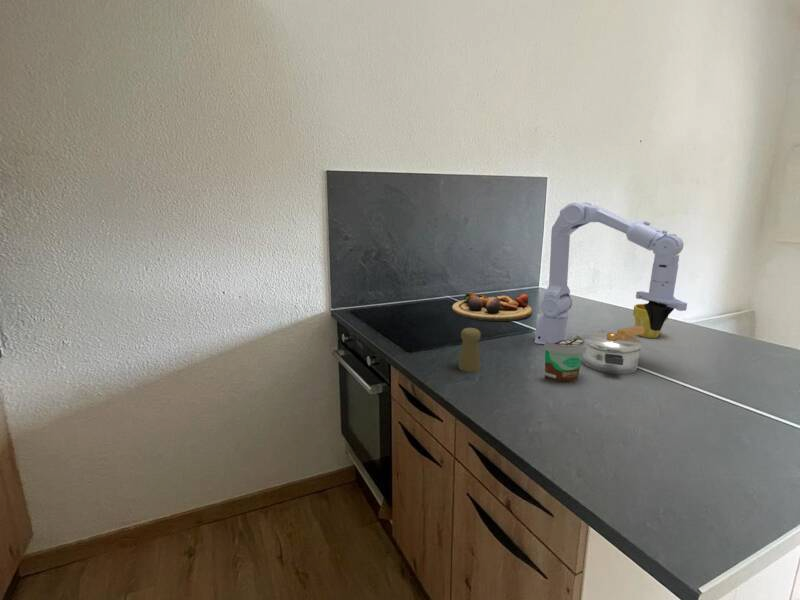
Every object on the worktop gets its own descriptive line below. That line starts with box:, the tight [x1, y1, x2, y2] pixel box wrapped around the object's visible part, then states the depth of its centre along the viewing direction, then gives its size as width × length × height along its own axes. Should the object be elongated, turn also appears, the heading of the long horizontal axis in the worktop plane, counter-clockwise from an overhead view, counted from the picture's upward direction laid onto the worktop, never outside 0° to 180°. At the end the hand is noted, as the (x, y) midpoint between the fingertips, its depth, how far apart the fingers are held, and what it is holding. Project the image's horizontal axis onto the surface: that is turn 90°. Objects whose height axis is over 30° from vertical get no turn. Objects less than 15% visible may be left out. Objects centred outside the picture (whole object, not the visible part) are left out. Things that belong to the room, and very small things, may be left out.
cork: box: [457, 327, 482, 373], centre depth 115 cm, size 6×6×11 cm
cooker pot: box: [581, 344, 641, 375], centre depth 120 cm, size 22×14×6 cm, turn 160°
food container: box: [543, 335, 586, 383], centre depth 109 cm, size 12×6×10 cm, turn 117°
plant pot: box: [632, 303, 669, 339], centre depth 145 cm, size 10×10×10 cm
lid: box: [582, 325, 645, 353], centre depth 120 cm, size 20×15×3 cm
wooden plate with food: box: [451, 291, 533, 322], centre depth 174 cm, size 32×32×8 cm
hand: (655, 329), depth 117 cm, fingers closed
